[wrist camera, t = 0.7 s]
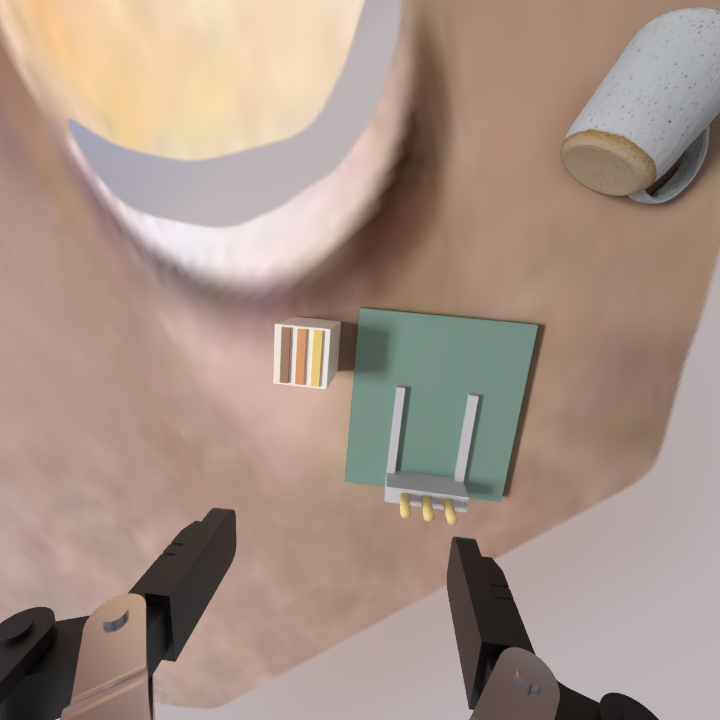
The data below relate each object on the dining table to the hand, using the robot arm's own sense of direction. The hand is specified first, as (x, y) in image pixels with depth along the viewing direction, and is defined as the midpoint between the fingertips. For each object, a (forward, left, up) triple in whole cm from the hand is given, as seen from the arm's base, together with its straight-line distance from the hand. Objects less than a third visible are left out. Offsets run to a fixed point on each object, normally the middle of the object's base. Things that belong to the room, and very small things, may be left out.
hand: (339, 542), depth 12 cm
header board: (+2, +6, -22) cm, 22 cm away
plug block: (-3, -6, -22) cm, 23 cm away
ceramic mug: (-22, +18, -22) cm, 36 cm away
